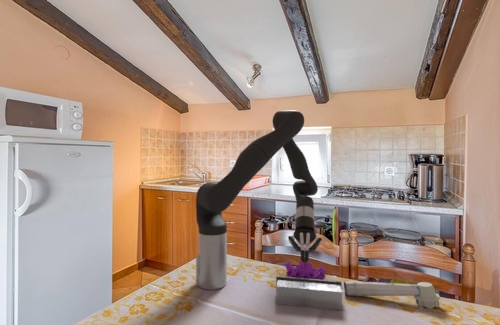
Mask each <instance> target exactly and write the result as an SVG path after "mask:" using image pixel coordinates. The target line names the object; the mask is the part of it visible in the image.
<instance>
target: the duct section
mask: <svg viewBox="0 0 500 325" xmlns="http://www.w3.org/2000/svg"><path fill="white" fill-rule="evenodd" d="M342 282H343V281H340V280H329V279H324V280H320V279H308V278H297V277H287V276H283V275H282V276H281V275H276V283H275V285H276V287H275V288H276V292H275V294H276V302H275V304H278V305H287V306H297V307H305V308H306V307H307V308H315V309H326V310H333V311H342V310H343V291H342V287H343V286H342V285H343V284H342Z"/></svg>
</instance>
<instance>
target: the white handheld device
mask: <svg viewBox="0 0 500 325" xmlns="http://www.w3.org/2000/svg"><path fill="white" fill-rule="evenodd" d="M343 288H344V295H345V296H347V297H348V296H349V297H413V298H414V299H415V303H416V304H417V305H418V306H420V307H424V308H426V309H430V310H431V309H434V308H439V307H440V302H439V301H440V299H441V296H440V295H439V293H437V292H436V290H435V287H434V285H433V284H432V283H431V282H427V281H420V282H418V283H415V284H414V283H397V282H396V283H394V282H376V281H357V279H355V280H354V281H353V280H352V281H350V280H349V281H343Z"/></svg>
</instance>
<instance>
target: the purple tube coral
mask: <svg viewBox="0 0 500 325" xmlns="http://www.w3.org/2000/svg"><path fill="white" fill-rule="evenodd" d="M284 266H285V268H286V277H297V278H308V279H320V280H325V278H326V275H325V274H326V271H327V270H326V269H325V268H324V267H322V266H321V265H319V267H318V268H316V270H315V267H313V263H312V262H307V263H305V262H303V261H300V262H299V265H297V264H296V265H295V266H296V267H294V266H293V264H292V262H291V261H289V262H287V263H285V264H284Z"/></svg>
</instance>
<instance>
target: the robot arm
mask: <svg viewBox="0 0 500 325" xmlns="http://www.w3.org/2000/svg"><path fill="white" fill-rule="evenodd" d="M304 124H305V117H304V114H303V113H302V112H300V111H298V110H293V109H291V110H290V109H284V110H283V109H282V110H278V111H276V112H275V113H274V115H273V116H272V127H273V129H274V130H272V131H271V132H268V133H267V134H264V135H262V136H261V137H258V138H256V139H255V140H252V142H251V143H250V144H248V145H247V146H246V147H245V148H244V149H243V150H242V151H241V152H240V154H239V155H238V156H237V158H236V161H235V163H234V165H233V167H232V169H231V170H230V171H229V173H227V174H226V175H225V177H223V178H222V179H221V180H219V181H218V182H217V183H215V182H207V183H203V184H202V185H200V186H199V188H198V190H197V192H196V196H195V217H196V224H197V227H198V255H197V256H196V257H195V258H196V260H195V263H196V264H195V277H196V278H195V286H196V287H199V288H201V289H204V290H219V289H222V288H224V287H225V286H226V285H227V264H228V263H227V256H228V255H227V253H228V252H227V249H228V245H227V244H228V240H227V239H228V238H227V237H228V226H227V223H226V221H225V219H224V217H223V214H222V212H224V211H225V210H227V209H228V208H229V207H230V206H231V204H232V203H233V202H234V201H235V199H236V198H237V197H238V195H239V194H240V193H241V192H242V190H243V189H244V188H245V186H246V185H247V184H248V183H249V182H250V181H251V180H252V179H253V178H254V177H255V176H256V175H257V174H258V172H260V171H261V170H262V169H263V168H264V167H265V166H266V165H267V163H269V161H270V160H271V159H272V158H273V157H274V156H275V155H276V154H277V153H278V152H279V151H280V150H281V149H282V148H283V150H284V153H285V154H286V157H287V159H288V162H289V166H290V170H291V173H292V176H293V178H294V179H295V180H296V181H295V182H294V183H293V184H292V190H293V193H294V196H295V197H294V198H295V202H296V204H295V205H296V208H295V209H296V210H295V218H294V220H295V222H294V232H293V235H289V236H288V238H287V239H288V242H289V244H290V245H291V246H292V247H293V249H294V250H295V251H296V252H299V253H300V262H305V264H306V263H309V260H310V256H309V254H310V253H312V254H313V253H314V252H315V251H316V250H317V248H318V247H319V246H320V245H321V244H322V240H323V239H322V237H318V236H317V233H316V231H315V230H316V228H315V227H316V226H315V224H316V223H315V221H316V220H315V210H314V207H315V204H314V199H313V198H312V197H310V196H315V195H316V194H317V193H318V190H319V189H318V184H317V182H316V180H315V178H314V177H313V175H312V174H311V172H310V169H309V166H308V163H307V159H306V157H305V154H304V152H303V151H302V150H301V149H300V147H299V146H298V144H297V143H296V142H295V140H294V137H296V136H297V135H298V134H299V133H300V132H301V130H302V129H303V127H304ZM296 241H297V242H296ZM313 242H314V243H313ZM312 243H313V244H312ZM298 244H299V245H298ZM311 244H312V245H311ZM310 245H311V246H310Z"/></svg>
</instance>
